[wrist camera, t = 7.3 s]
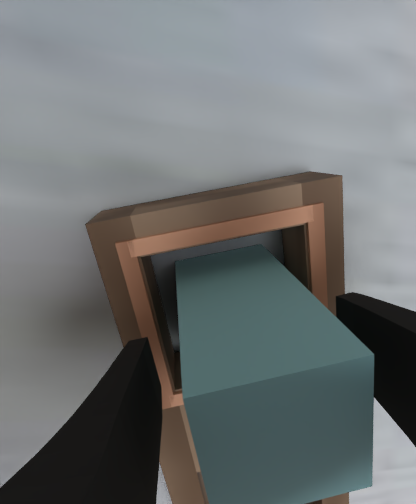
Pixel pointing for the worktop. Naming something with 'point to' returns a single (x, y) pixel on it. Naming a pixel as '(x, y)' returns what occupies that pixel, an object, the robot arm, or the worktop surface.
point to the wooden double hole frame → (200, 233)
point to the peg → (270, 383)
